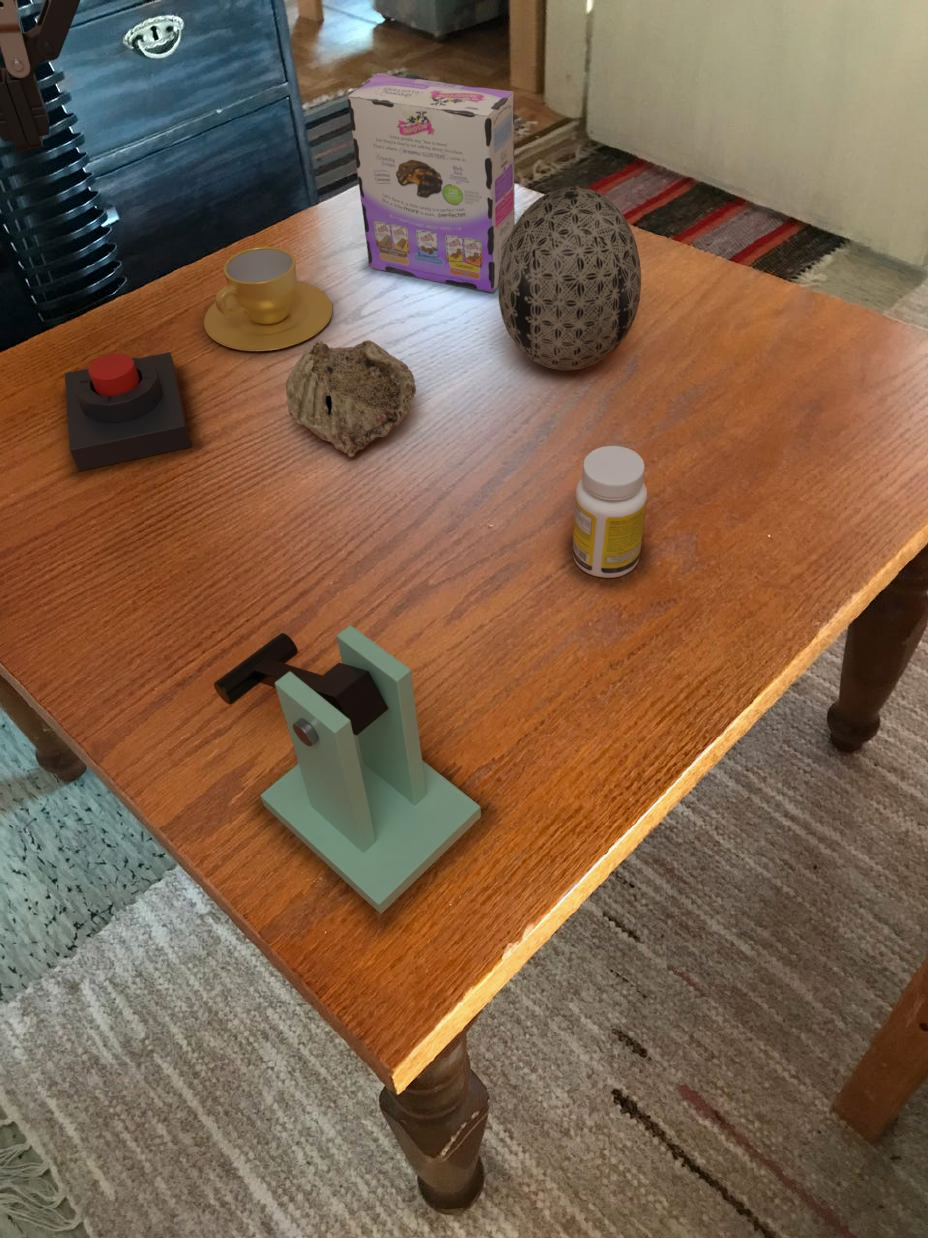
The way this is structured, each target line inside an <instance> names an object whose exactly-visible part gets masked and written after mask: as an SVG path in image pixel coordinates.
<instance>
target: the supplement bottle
mask: <svg viewBox="0 0 928 1238" xmlns="http://www.w3.org/2000/svg"><path fill="white" fill-rule="evenodd" d="M644 480H645V462H644V460H643V458H642V456H640V454H639V453H638V452H637V451H634V450H633V449H631V448H628V447H626V446H620V445H606V446H605V445H604V446H601V447H598V448H597V447H596V448H595V449H593V450H591V451H590V452H589V453H588V454H587V455H586V456H585V458H584V459H583V463H582V472H581V478H580V479H579V481H578V483H577V485H576V488H575V497H574V515H573V516H574V517H573V533H572V534H573V535H572V557H573V560H574V562H575V564H576V565H577V567H578V568H579V569H581V570H582V571H583V572H584V573H585V574H588V575H590V576H594V577H597V578H603V579H604V578H605V579H613V578H614V579H615V578H619V577H622V576H625V575H627V574H629V573H631V572H632V571H633V570H634V569H635V568H636V566H637V564H638V563H639V561H640V556H641V552H642V551H641V549H642V542H643V535H644V527H645V520H646V519H645V518H646V509H647V503H648V502H647V501H648V490H647V485H646V484H645V482H644Z"/></svg>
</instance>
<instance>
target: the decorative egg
mask: <svg viewBox="0 0 928 1238" xmlns="http://www.w3.org/2000/svg"><path fill="white" fill-rule="evenodd" d="M641 289H642V269H641V260H640V256H639V250H638V245H637V241H636V238H635V236H634V234H633V231H632V228H631V226H630V225H629V222H628V221H627V219H626V217H625V216H624V214H623V213H622V212H621V210H620V209H619V207H617V206H616V204H615V203H613V202H612V201H611V200H609V199H608V198H607V197H606V196H605V195H603V194H601V193H600V192H598V191H596V190H592V189H590V188H587V187H583V186H565V187H564V186H563V187H560V188H556V189H555V190H551V191H549V192H547V193H545V194H544V195H542V196H540V197H539V198H538V199H536V200H535V201H534V202H533V203H532V204H530V205H529V206H528V208H526V210H524V211H523V213H522V214H521V216H520V217H518V219H517V221H515V225H514V227H513V229H512V231H511V233H510V235H509V237H508V240H507V242H506V245H505V248H504V251H503V255H502V259H501V264H500V271H499V280H498V287H497V291H498V305H499V311H500V314H501V318H502V321H503V324H504V327H505V330H506V331H507V334H508V335H509V336H510V338H511V340H512V342H513V343H514V344H515V345H516V346H515V347H517V348H518V349H519V350H520V351H521V352H522V353H523V354H524V355H525V356H526V357H527V358H529V359H531V360H532V361H533V362H534V363H537V364H539V365H541V366H542V367H546V368H549V369H553V370H556V371H577V370H581V369H582V370H583V369H585V368H588V367H591V366H593V365H595V364H597V363H600V362H601V361H603V360H604V359H606V358H607V357H608V356H610V355H611V354H613V352H614V351H615V350H616V349H617V348H618V347H619V346H620V345H621V343H622V342H623V341H624V340H625V338H626V337H627V335H628V334H629V332H630V330H631V329H632V326H633V324H634V321H635V319H636V316H637V312H638V309H639V305H640V300H641V292H642V290H641Z"/></svg>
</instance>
